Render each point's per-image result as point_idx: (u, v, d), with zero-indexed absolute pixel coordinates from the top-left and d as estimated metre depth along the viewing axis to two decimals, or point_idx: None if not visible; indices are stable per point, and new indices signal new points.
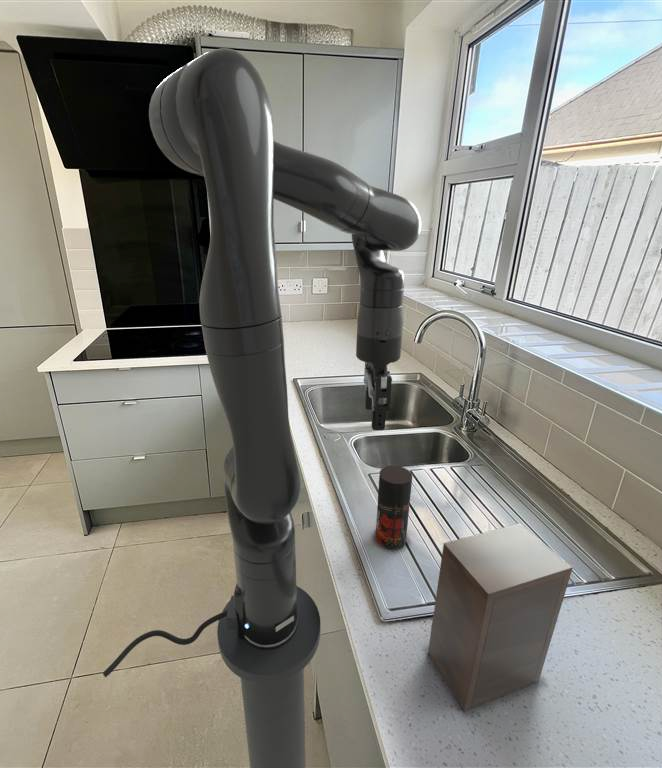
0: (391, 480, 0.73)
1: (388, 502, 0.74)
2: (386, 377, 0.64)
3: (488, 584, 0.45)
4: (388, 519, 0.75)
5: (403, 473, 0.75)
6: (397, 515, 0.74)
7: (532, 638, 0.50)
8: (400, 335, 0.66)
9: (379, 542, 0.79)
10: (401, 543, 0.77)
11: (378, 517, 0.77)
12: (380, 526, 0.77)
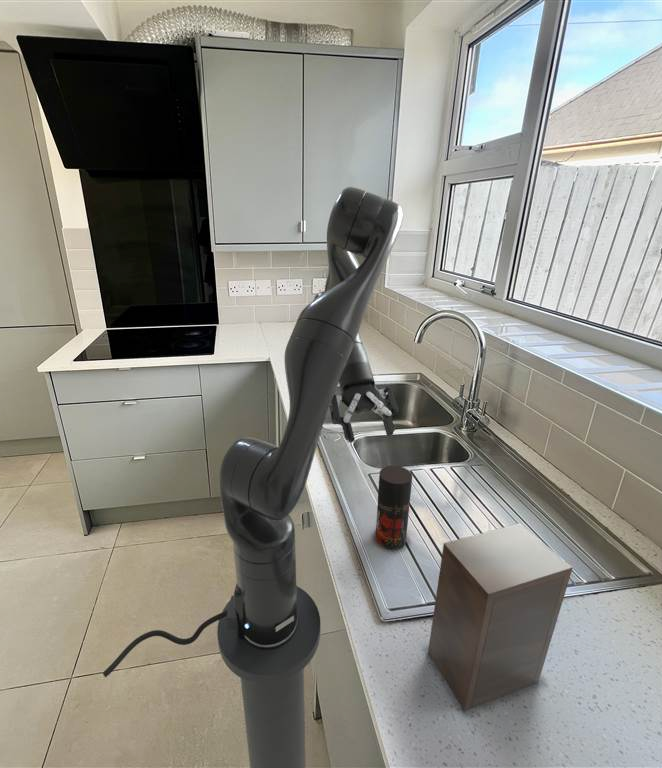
0: (391, 480, 0.73)
1: (388, 502, 0.74)
2: None
3: (488, 584, 0.45)
4: (388, 519, 0.75)
5: (403, 473, 0.75)
6: (397, 515, 0.74)
7: (532, 638, 0.50)
8: None
9: (379, 542, 0.79)
10: (401, 543, 0.77)
11: (378, 517, 0.77)
12: (380, 526, 0.77)
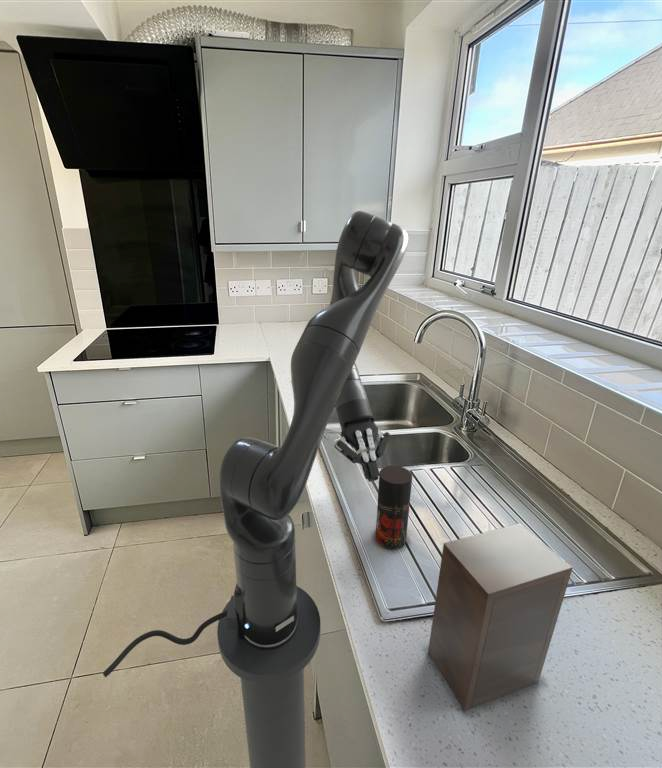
0: (391, 480, 0.73)
1: (388, 502, 0.74)
2: None
3: (488, 584, 0.45)
4: (388, 519, 0.75)
5: (403, 473, 0.75)
6: (397, 515, 0.74)
7: (532, 638, 0.50)
8: None
9: (379, 542, 0.79)
10: (401, 543, 0.77)
11: (378, 517, 0.77)
12: (380, 526, 0.77)
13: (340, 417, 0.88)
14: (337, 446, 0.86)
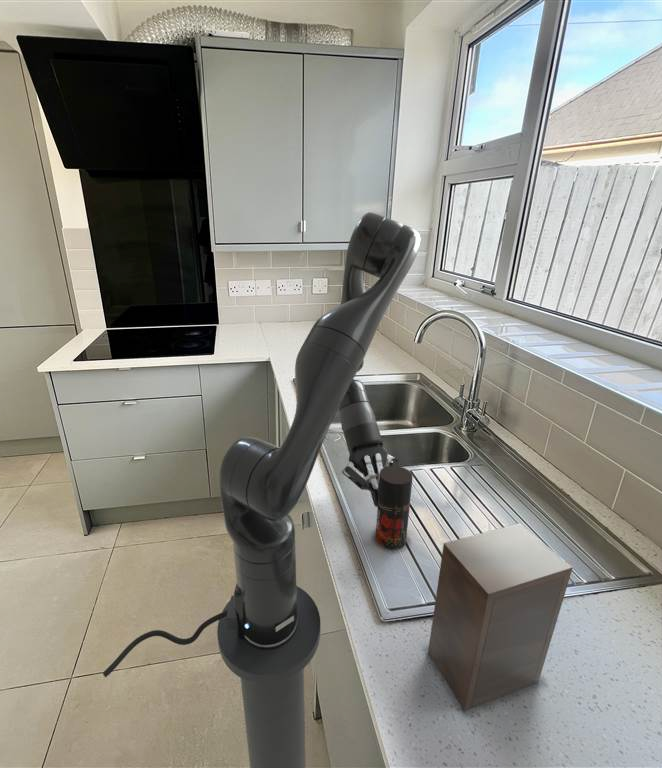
0: (392, 480, 0.73)
1: (388, 502, 0.74)
2: None
3: (488, 584, 0.45)
4: (388, 519, 0.75)
5: (403, 473, 0.75)
6: (397, 515, 0.74)
7: (532, 638, 0.50)
8: None
9: (379, 542, 0.79)
10: (401, 543, 0.77)
11: (378, 517, 0.77)
12: (380, 526, 0.77)
13: (348, 441, 0.85)
14: (345, 472, 0.83)
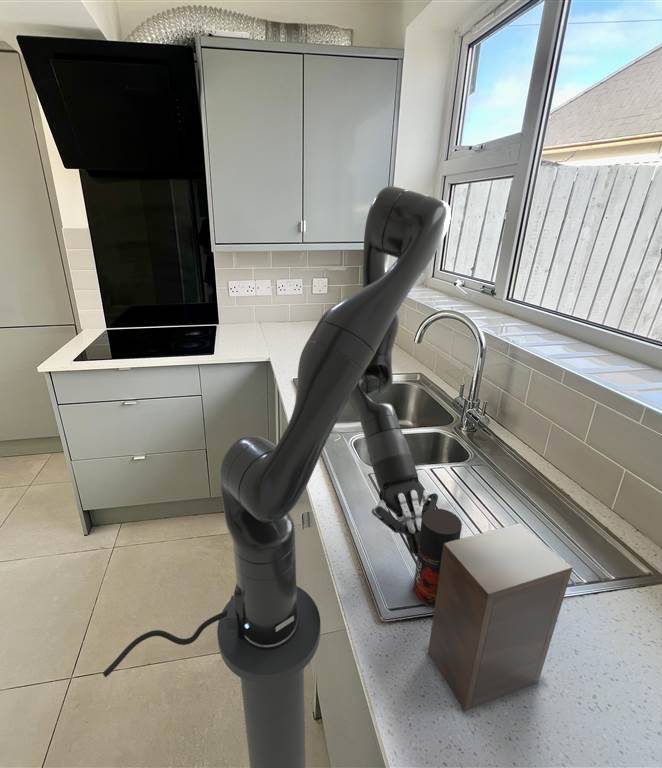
0: (438, 529, 0.61)
1: (434, 554, 0.62)
2: None
3: (488, 584, 0.45)
4: (433, 574, 0.63)
5: (450, 519, 0.63)
6: None
7: (532, 638, 0.50)
8: None
9: (420, 598, 0.67)
10: None
11: (419, 570, 0.65)
12: (422, 580, 0.65)
13: (378, 476, 0.73)
14: (376, 513, 0.71)
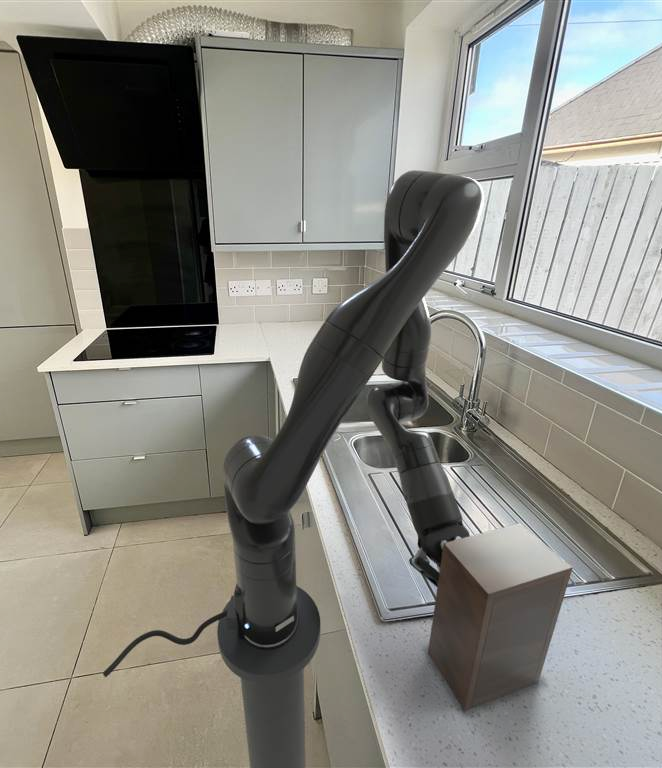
0: None
1: None
2: None
3: (488, 584, 0.45)
4: None
5: None
6: None
7: (532, 638, 0.50)
8: None
9: None
10: None
11: None
12: None
13: (416, 519, 0.63)
14: (415, 565, 0.60)
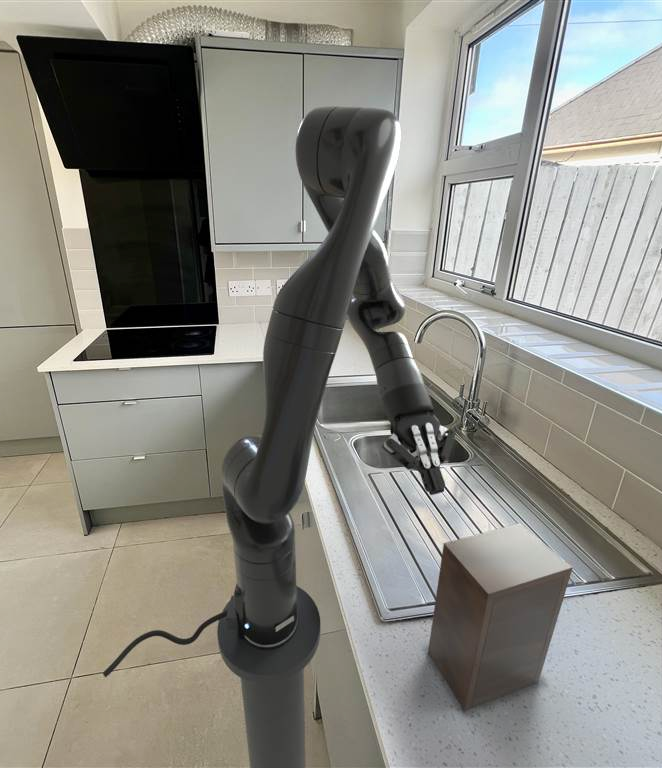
0: None
1: None
2: None
3: (488, 584, 0.45)
4: None
5: None
6: None
7: (532, 638, 0.50)
8: None
9: None
10: None
11: None
12: None
13: (389, 408, 0.66)
14: (387, 446, 0.63)
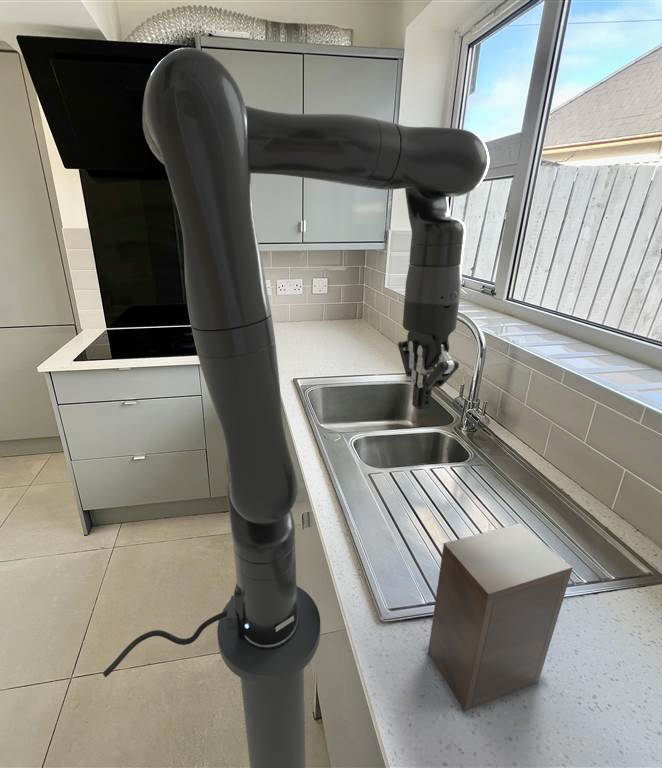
0: None
1: None
2: (453, 365, 0.56)
3: (488, 584, 0.45)
4: None
5: None
6: None
7: (532, 638, 0.50)
8: None
9: None
10: None
11: None
12: None
13: None
14: None
